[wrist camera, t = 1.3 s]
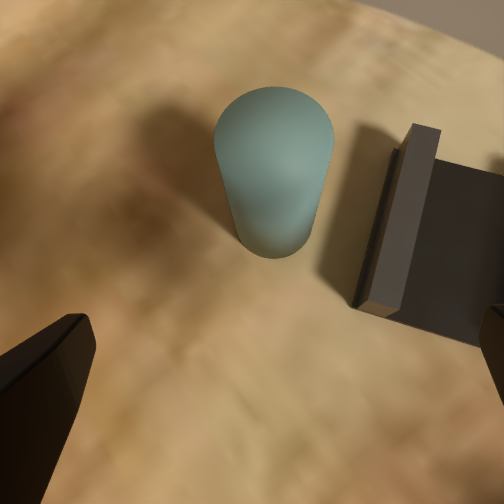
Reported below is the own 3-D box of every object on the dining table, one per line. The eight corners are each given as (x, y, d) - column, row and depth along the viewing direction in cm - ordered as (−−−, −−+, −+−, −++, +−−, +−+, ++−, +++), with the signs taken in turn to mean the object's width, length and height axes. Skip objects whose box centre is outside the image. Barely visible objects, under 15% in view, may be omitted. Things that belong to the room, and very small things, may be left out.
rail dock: (543, 367, 21) (585, 366, 18) (351, 308, 22) (362, 298, 19) (566, 194, 24) (607, 170, 21) (392, 150, 25) (408, 122, 22)
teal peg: (260, 273, 23) (252, 215, 15) (221, 210, 24) (192, 122, 16) (327, 233, 24) (358, 154, 15) (285, 173, 25) (292, 68, 16)
